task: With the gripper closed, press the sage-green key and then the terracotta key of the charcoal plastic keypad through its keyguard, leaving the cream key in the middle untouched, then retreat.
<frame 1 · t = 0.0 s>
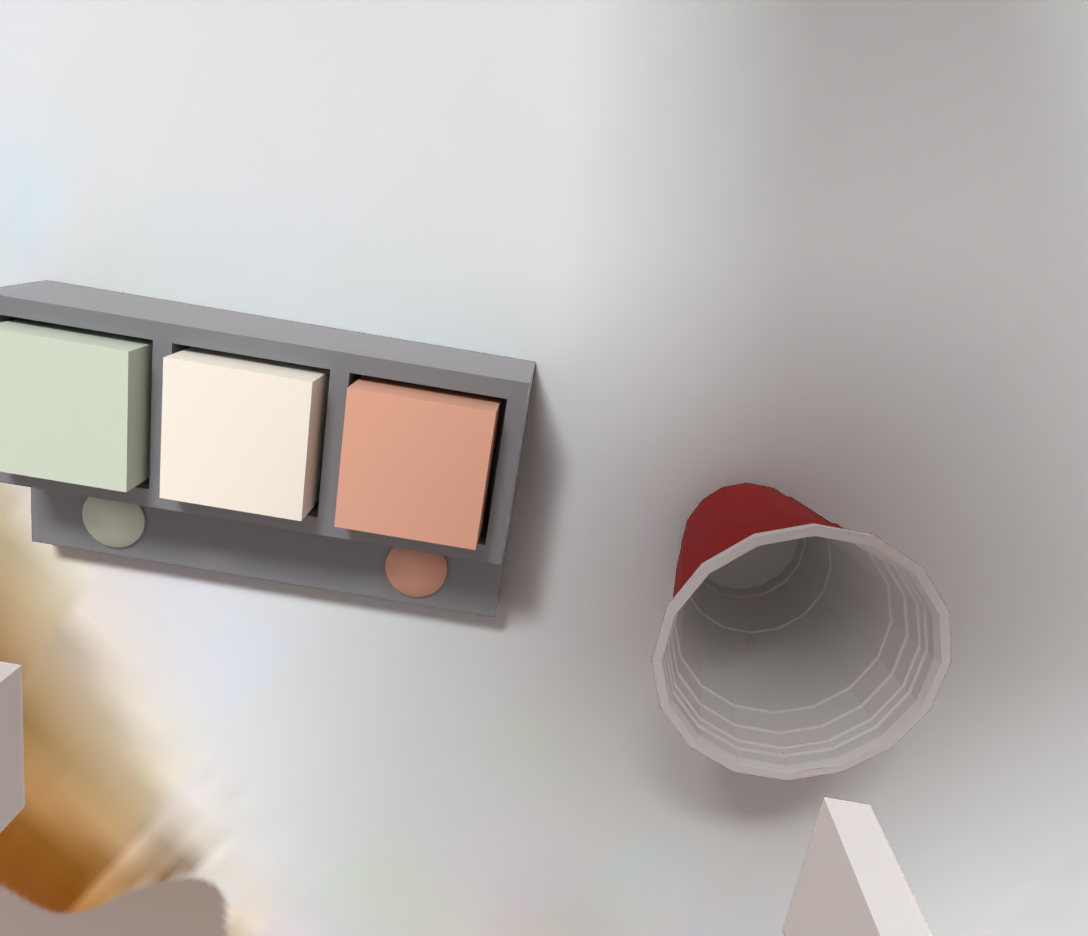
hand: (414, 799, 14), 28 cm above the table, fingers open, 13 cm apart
cream key: (247, 432, 37), point 5 cm above the table, slide at 0.0 cm
plastic cup: (743, 539, 43), on the table
keypad: (285, 406, 41), on the table
terracotta key: (419, 460, 37), point 5 cm above the table, slide at 0.0 cm
sage key: (75, 403, 36), point 5 cm above the table, slide at 0.0 cm
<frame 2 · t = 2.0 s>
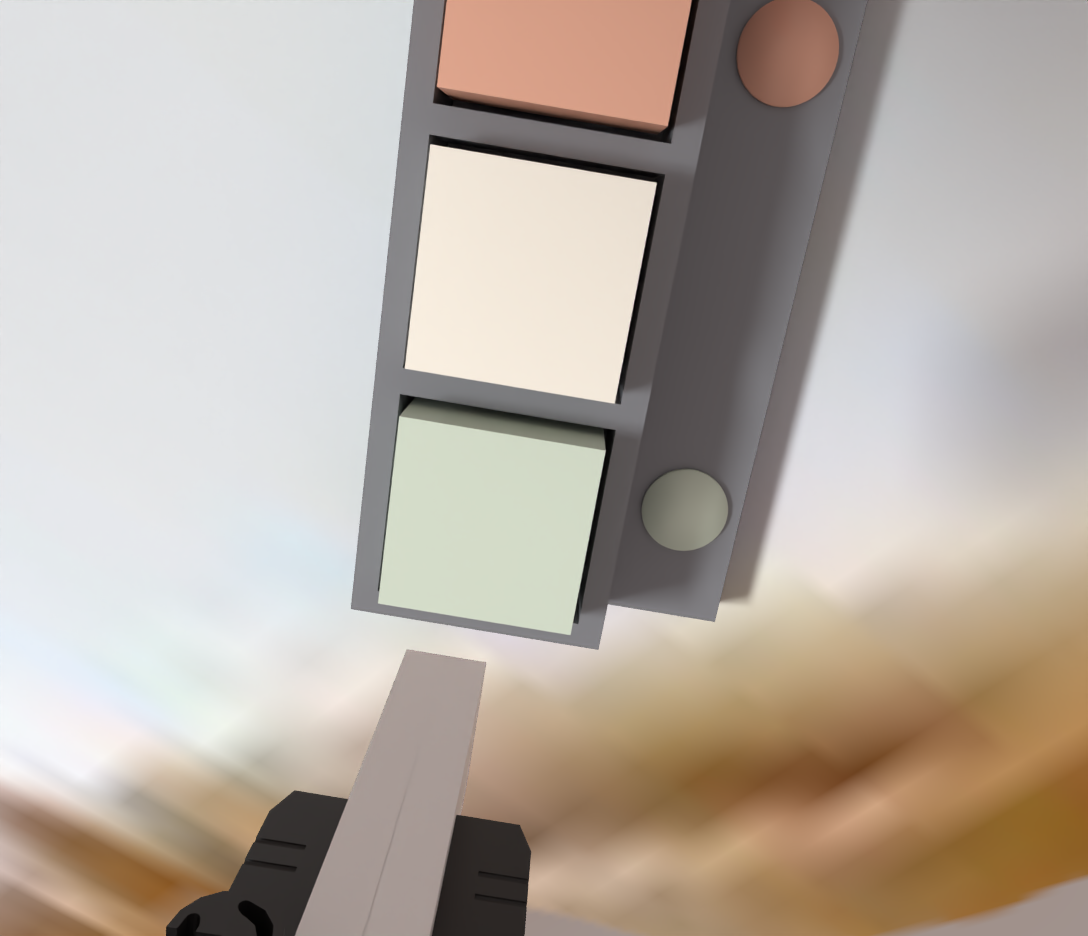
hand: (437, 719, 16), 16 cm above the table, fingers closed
cream key: (529, 274, 25), point 5 cm above the table, slide at 0.0 cm
keypad: (537, 263, 29), on the table
sage key: (492, 512, 27), point 5 cm above the table, slide at 0.0 cm
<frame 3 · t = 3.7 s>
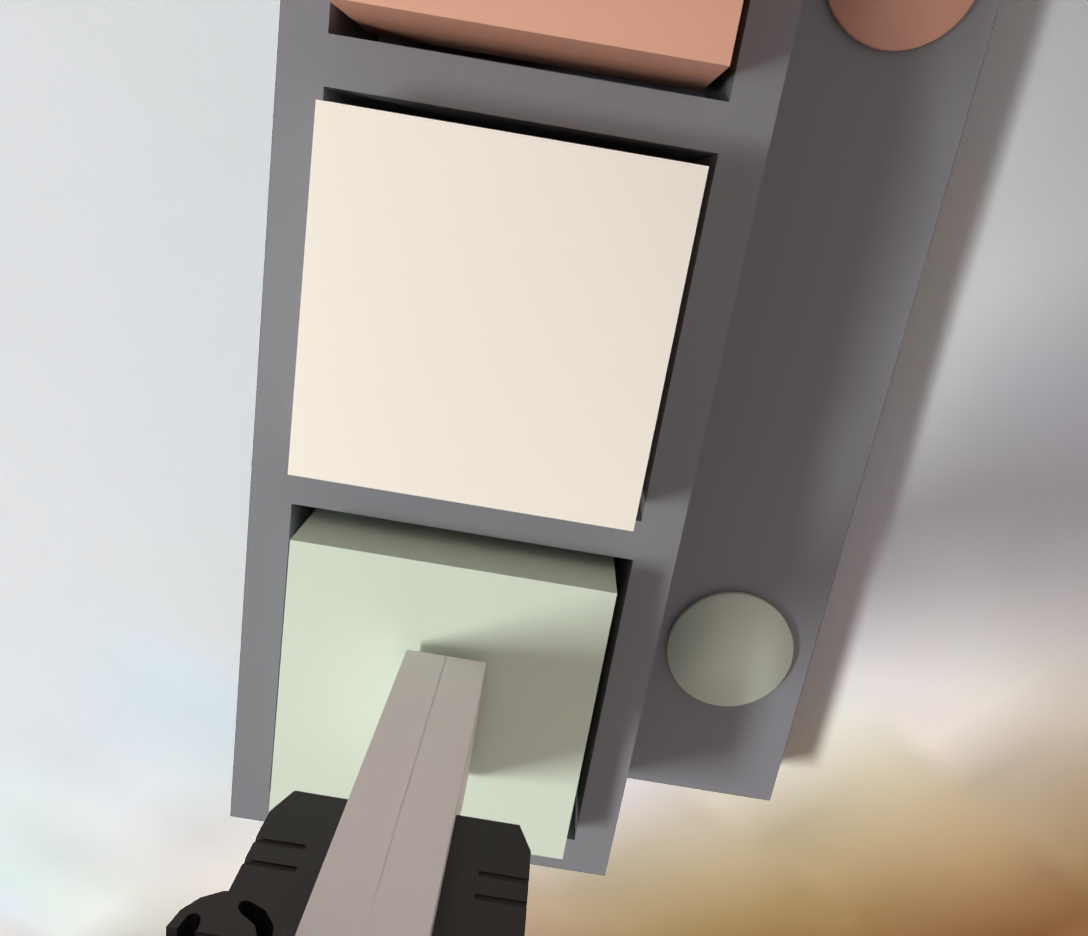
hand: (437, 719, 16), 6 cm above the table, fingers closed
cream key: (493, 317, 15), point 5 cm above the table, slide at 0.0 cm
keypad: (513, 290, 20), on the table
sage key: (445, 668, 18), point 4 cm above the table, slide at 0.4 cm, touching gripper
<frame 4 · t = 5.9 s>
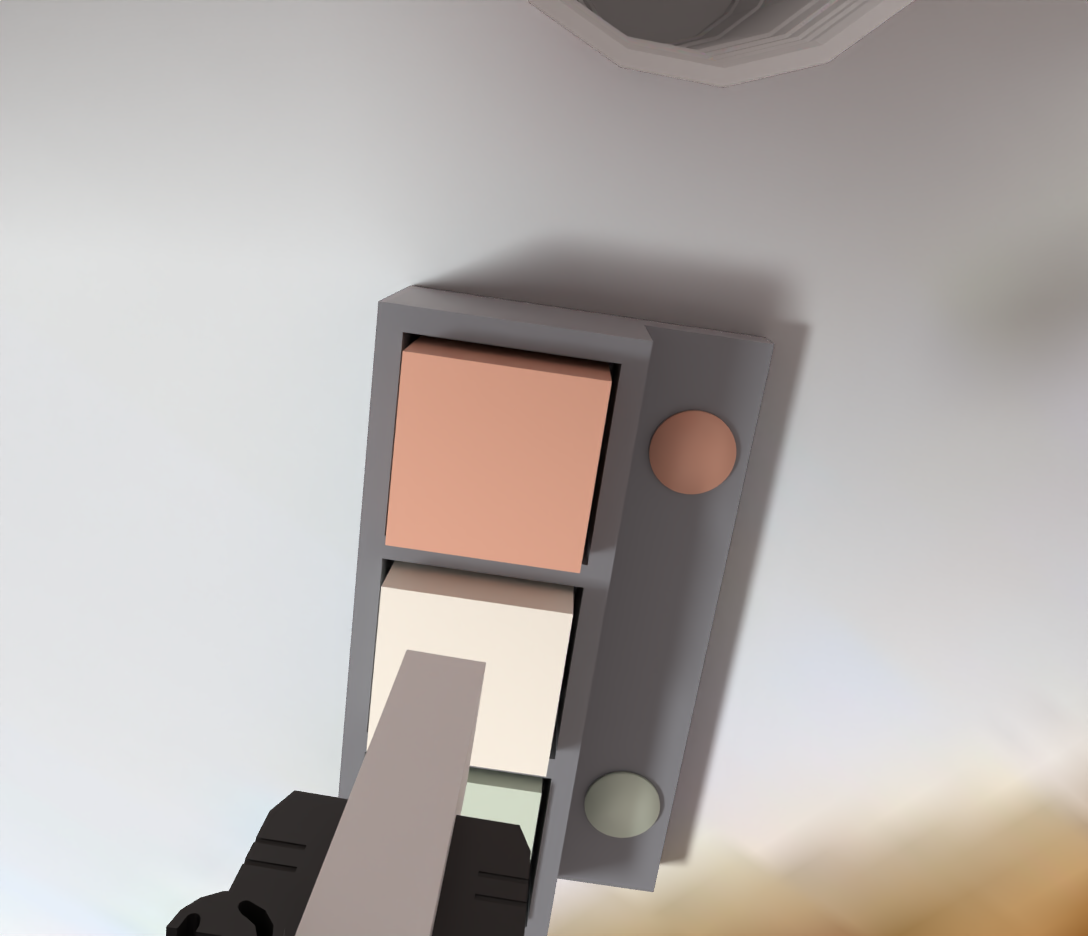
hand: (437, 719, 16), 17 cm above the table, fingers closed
cream key: (472, 660, 29), point 5 cm above the table, slide at 0.0 cm
keypad: (487, 597, 34), on the table
terracotta key: (499, 452, 27), point 5 cm above the table, slide at 0.0 cm
sage key: (452, 822, 32), point 4 cm above the table, slide at 1.0 cm
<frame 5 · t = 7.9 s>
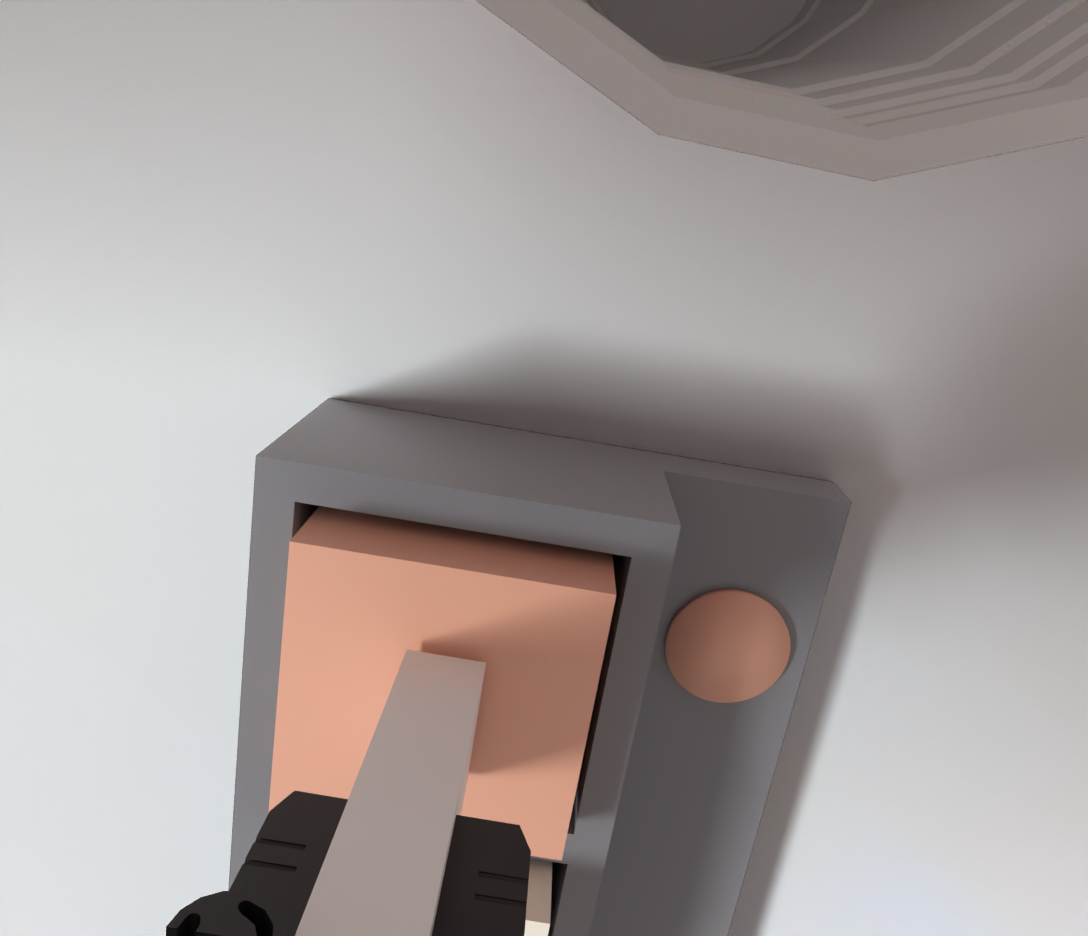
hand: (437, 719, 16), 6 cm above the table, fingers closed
keypad: (436, 810, 25), on the table
terracotta key: (444, 669, 18), point 5 cm above the table, slide at 0.2 cm, touching gripper
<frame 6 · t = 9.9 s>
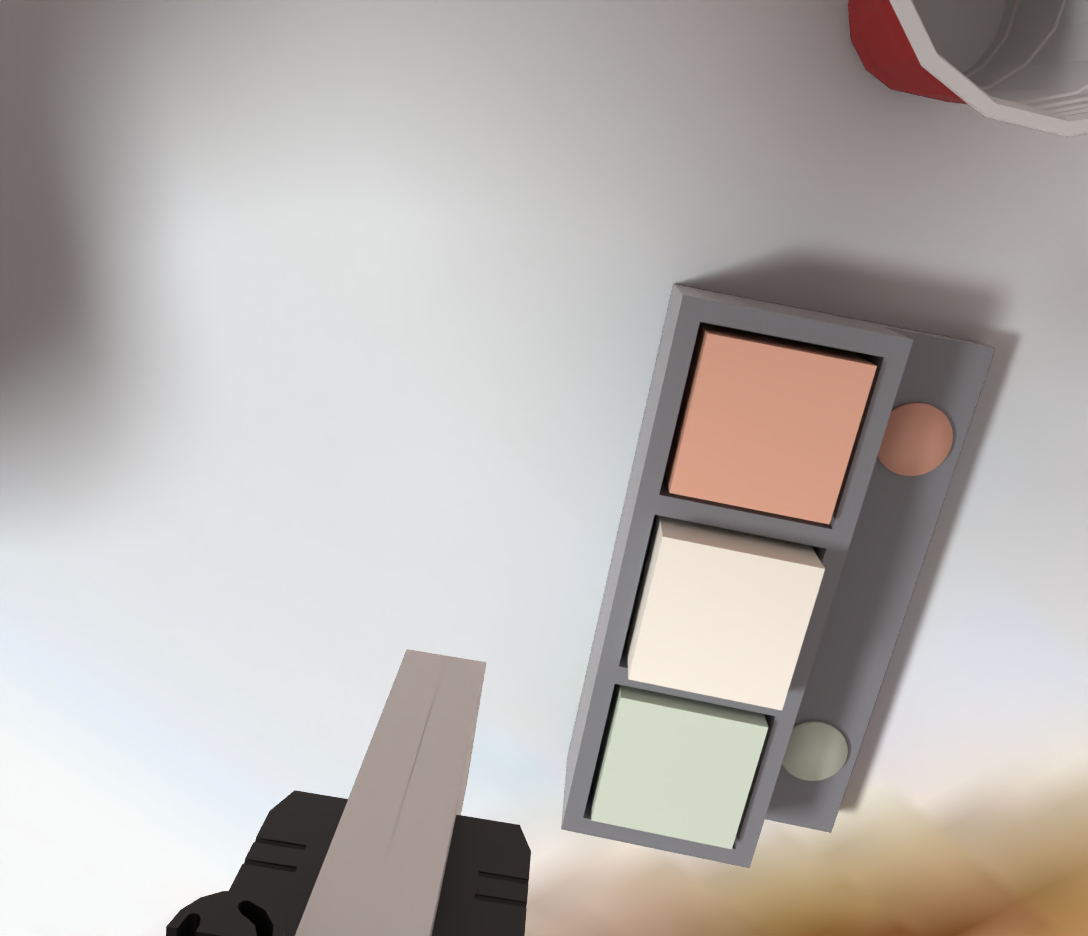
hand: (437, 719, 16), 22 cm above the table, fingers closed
cream key: (719, 608, 34), point 5 cm above the table, slide at 0.0 cm
plastic cup: (931, 7, 32), on the table
keypad: (705, 560, 38), on the table
terracotta key: (763, 421, 32), point 4 cm above the table, slide at 0.9 cm
sage key: (674, 753, 37), point 4 cm above the table, slide at 1.0 cm
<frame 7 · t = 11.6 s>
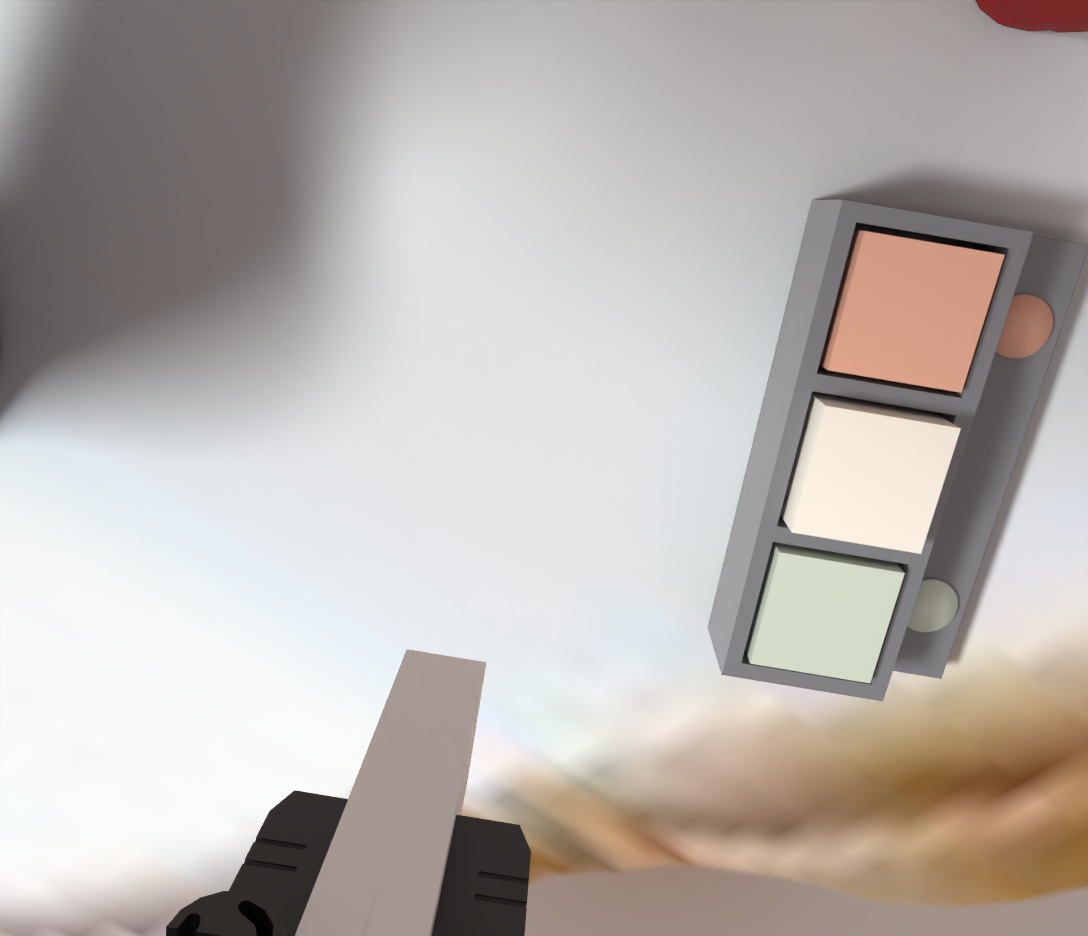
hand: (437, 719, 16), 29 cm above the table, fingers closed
cream key: (863, 471, 40), point 5 cm above the table, slide at 0.0 cm
keypad: (834, 443, 44), on the table
terracotta key: (901, 309, 38), point 4 cm above the table, slide at 0.9 cm
sage key: (817, 605, 43), point 4 cm above the table, slide at 1.0 cm
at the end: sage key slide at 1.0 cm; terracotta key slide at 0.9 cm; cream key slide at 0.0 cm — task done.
